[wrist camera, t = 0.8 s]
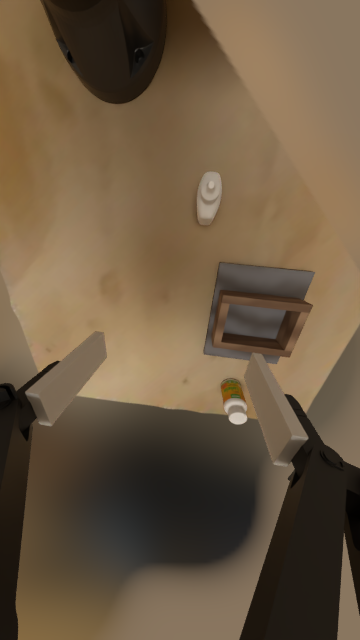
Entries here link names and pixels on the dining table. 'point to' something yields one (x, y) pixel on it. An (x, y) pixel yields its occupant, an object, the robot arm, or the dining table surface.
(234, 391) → the supplement bottle
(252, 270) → the bottle holder
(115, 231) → the dining table surface
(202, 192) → the eye dropper bottle
